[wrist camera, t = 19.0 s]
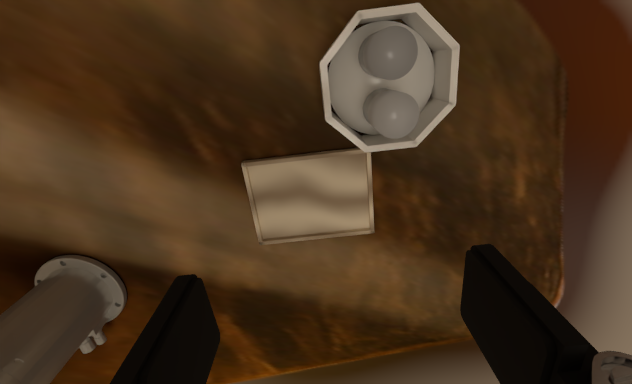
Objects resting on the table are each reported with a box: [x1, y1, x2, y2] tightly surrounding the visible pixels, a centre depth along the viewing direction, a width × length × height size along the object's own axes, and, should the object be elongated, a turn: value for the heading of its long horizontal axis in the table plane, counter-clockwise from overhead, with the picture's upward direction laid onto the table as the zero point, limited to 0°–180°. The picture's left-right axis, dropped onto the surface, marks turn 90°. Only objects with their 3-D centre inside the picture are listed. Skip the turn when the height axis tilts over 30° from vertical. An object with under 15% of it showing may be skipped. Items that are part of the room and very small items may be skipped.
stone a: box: [363, 88, 419, 139], centre depth 32 cm, size 4×4×6 cm
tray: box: [241, 148, 374, 245], centre depth 40 cm, size 12×16×1 cm
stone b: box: [358, 26, 418, 80], centre depth 30 cm, size 4×4×6 cm
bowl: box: [319, 3, 460, 153], centre depth 32 cm, size 13×13×5 cm
